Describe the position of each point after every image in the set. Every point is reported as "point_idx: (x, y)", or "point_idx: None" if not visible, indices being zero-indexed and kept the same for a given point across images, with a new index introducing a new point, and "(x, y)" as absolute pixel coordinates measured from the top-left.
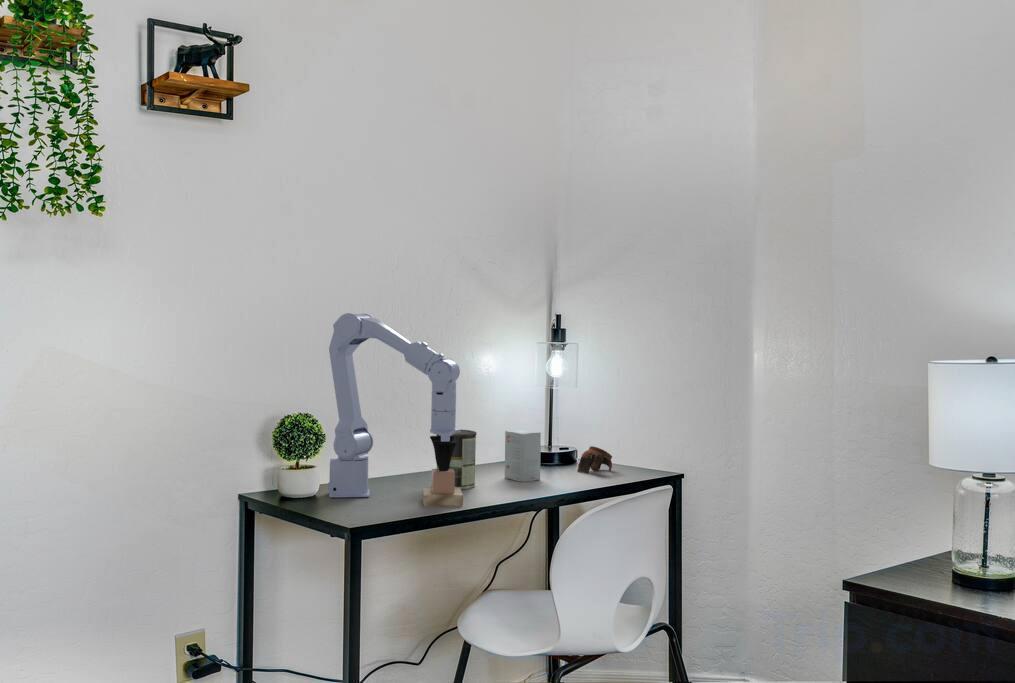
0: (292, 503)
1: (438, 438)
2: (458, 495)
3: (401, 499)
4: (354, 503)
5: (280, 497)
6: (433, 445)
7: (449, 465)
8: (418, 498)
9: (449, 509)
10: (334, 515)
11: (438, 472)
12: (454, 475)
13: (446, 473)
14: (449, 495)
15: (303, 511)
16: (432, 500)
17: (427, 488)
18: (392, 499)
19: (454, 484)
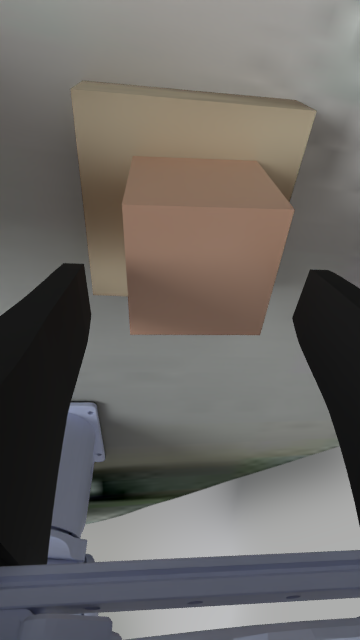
0: (155, 488)
1: (28, 531)
2: (307, 141)
3: (119, 332)
4: (168, 421)
5: (96, 501)
6: (57, 470)
7: (354, 286)
8: None
9: (345, 184)
10: (288, 441)
11: (265, 310)
12: (286, 201)
13: (275, 262)
14: (290, 193)
15: (233, 474)
16: None
17: (98, 276)
18: (118, 354)
19: (270, 178)
